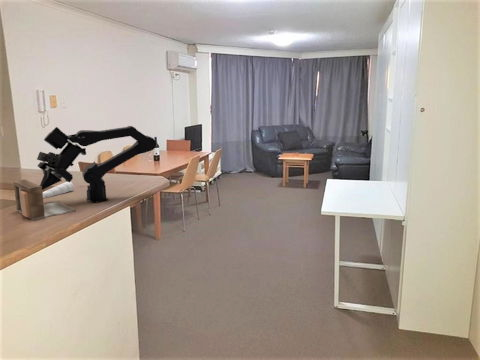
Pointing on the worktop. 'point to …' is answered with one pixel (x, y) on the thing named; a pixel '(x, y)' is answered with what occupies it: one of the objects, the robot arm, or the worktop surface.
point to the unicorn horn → (59, 189)
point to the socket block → (38, 201)
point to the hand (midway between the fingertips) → (39, 189)
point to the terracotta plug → (26, 203)
